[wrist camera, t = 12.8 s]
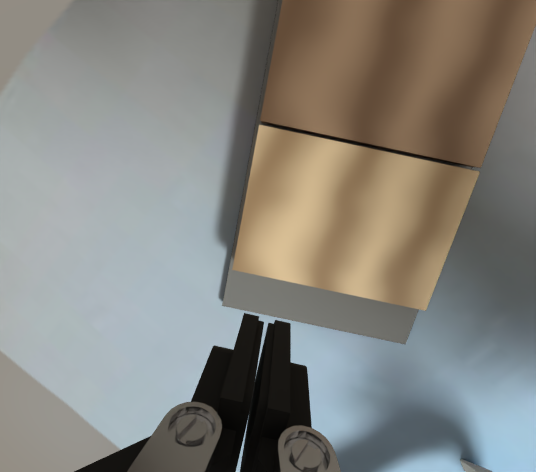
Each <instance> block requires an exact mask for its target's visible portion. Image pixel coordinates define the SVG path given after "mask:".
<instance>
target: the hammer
mask: <svg viewBox="0 0 536 472" xmlns="http://www.w3.org/2000/svg"><path fill="white" fill-rule="evenodd" d="M460 461H461V464H462V466H463V469H464V471H466V472H492V471H490V470H488V469H485V468H483V467H480V466H478V465H475V464H473V463H470V462H468V461H465V460H463V459H461V460H460Z"/></svg>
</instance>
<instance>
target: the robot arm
mask: <svg viewBox="0 0 536 472" xmlns="http://www.w3.org/2000/svg"><path fill="white" fill-rule="evenodd" d="M258 319H259V316H255V315H250V314H245V313H244V316H243V319H242V323H241V326H240V330H239V333H238V337H237V340H236V344H235V347H234V350H232V349H227V348H223V347H218V346H213V348H212V350H211V353H210V355H209V358H208V360H207V363H206V365H205V368H204V370H203V373H202V375H201V378H200V380H199V383H198V385H197V388H196V390H195V393H194V395H193V398H192V401H191V402H186V403H182V404H179V405H177V406H176V407H174V408H172V409H171V410H170V411H169V412H168V413H167V414H166V415H165V417H164V418H163V420H162V421H161V423H160V424H159V425H158V427H157V428H156V430H155V431H154V433H153V434H152V436H150V437H148V438H146V439H144V440H141V441H139V442H137V443H135V444H133V445H131V446H128V447H126V448H124V449H122V450H120V451H118V452H116V453H113V454H111V455H109V456H107V457H105V458H103V459H100V460H98V461H96V462H94V463H92V464H90V465H88V466H86V467H83V468H81V469H79V470H77V471H75V472H235V471H236V467H237V463H238V459H239V454H240V450H241V446H242V442H243V437H244V433H245V429H246V424H247V420H248V424H247V431H246V437H245V443H244V450H243V456H242V462H241V469H240V472H341V470H340V467H339V464H338V460H337V457H336V454H335V451H334V449H333V447H332V445H331V444H330V442H329V441H328V440H327V439H326V437H324V436H323V435H322V434H321V433H320V432H318V431H316V430H314V429H312V427H311V414H310V401H309V388H308V374H307V367H306V366H304V365H299V364H295V363H290V323H286V322H282V321H277V320H275V322H274V324H272V323H268V327H267V332H266V336H265V340H264V345H263V349H262V353H261V357H260V362H259V366H258V370H257V364H258V357H259V351H260V344H261V338H262V332H263V325H264V322H263V321H258ZM256 370H257V375H256ZM255 377H256V379H255ZM249 411H250V412H249ZM248 416H249V418H248Z"/></svg>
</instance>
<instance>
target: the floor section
mask: <svg viewBox="0 0 536 472" xmlns="http://www.w3.org/2000/svg"><path fill="white" fill-rule="evenodd" d="M535 25H536V0H278V4H277V9H276V15H275V20H274V26H273V31H272V37H271V42H270V47H269V53H268V58H267V64H266V69H265V75H264V80H263V86H262V91H261V97H260V102H259V108H258V113H257V118H256V124H255V129H254V135H253V140H252V146H251V151H250V157H249V162H248V168H247V173H246V179H245V184H244V189H243V195H242V200H241V206H240V211H239V217H238V222H237V228H236V233H235V239H234V244H233V249H232V255H231V260H230V266H229V271H228V277H227V282H226V288H225V293H224V299H223V304H222V306H226V307H231V308H236V309H240V310H245V311H250V312H255V313H259V314H264V315H269V316H273V317H278V318H283V319H288V320H292V321H297V322H302V323H307V324H311V325H316V326H321V327H326V328H330V329H335V330H340V331H344V332H349V333H354V334H359V335H363V336H368V337H373V338H378V339H382V340H387V341H392V342H396V343H401V344H406V342H407V339H408V336H409V334H410V331H411V328H412V326H413V323H414V320H415V318H416V315H417V312H418V310H419V309H415V308H410V307H406V306H401V305H396V304H391V303H387V302H382V301H377V300H373V299H368V298H363V297H358V296H354V295H349V294H344V293H340V292H335V291H330V290H325V289H321V288H316V287H311V286H306V285H302V284H297V283H292V282H288V281H283V280H278V279H273V278H269V277H264V276H259V275H255V274H250V273H245V272H240V271H236V270H232V268H233V263H234V258H235V252H236V247H237V242H238V236H239V231H240V225H241V220H242V215H243V209H244V204H245V198H246V193H247V188H248V182H249V177H250V171H251V166H252V161H253V155H254V150H255V145H256V139H257V134H258V128H259V125H263V126H268V127H273V128H278V129H282V130H287V131H292V132H296V133H301V134H306V135H310V136H315V137H320V138H324V139H329V140H334V141H338V142H343V143H348V144H352V145H357V146H362V147H366V148H371V149H376V150H380V151H385V152H390V153H395V154H399V155H404V156H409V157H413V158H418V159H423V160H427V161H432V162H437V163H441V164H446V165H451V166H455V167H460V168H465V169H469V170H471V169H472V167H479V168H481V166H482V163H483V161H484V158H485V155H486V153H487V150H488V148H489V145H490V142H491V140H492V137H493V135H494V132H495V129H496V127H497V124H498V122H499V119H500V116H501V114H502V111H503V109H504V106H505V103H506V101H507V98H508V96H509V93H510V90H511V88H512V85H513V83H514V80H515V77H516V75H517V72H518V70H519V67H520V64H521V62H522V59H523V57H524V54H525V51H526V49H527V46H528V44H529V41H530V38H531V36H532V33H533V31H534V28H535Z"/></svg>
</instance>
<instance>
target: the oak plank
mask: <svg viewBox="0 0 536 472" xmlns="http://www.w3.org/2000/svg"><path fill="white" fill-rule="evenodd" d="M479 173H480V172H479V171H474V170H469V169H465V168H460V167H455V166H451V165H446V164H441V163H437V162H432V161H427V160H423V159H418V158H413V157H409V156H404V155H399V154H395V153H390V152H385V151H380V150H376V149H371V148H366V147H362V146H357V145H352V144H348V143H343V142H338V141H334V140H329V139H324V138H320V137H315V136H310V135H306V134H301V133H296V132H292V131H287V130H282V129H278V128H273V127H268V126H263V125H259V128H258V134H257V139H256V145H255V150H254V155H253V161H252V166H251V171H250V177H249V182H248V188H247V193H246V198H245V204H244V209H243V215H242V220H241V225H240V231H239V236H238V242H237V247H236V252H235V258H234V263H233V268H232V270H236V271H240V272H245V273H250V274H255V275H259V276H264V277H269V278H273V279H278V280H283V281H288V282H292V283H297V284H302V285H306V286H311V287H316V288H321V289H325V290H330V291H335V292H340V293H344V294H349V295H354V296H358V297H363V298H368V299H373V300H377V301H382V302H387V303H391V304H396V305H401V306H406V307H410V308H415V309H420V310H424V311H426V309H427V306H428V304H429V301H430V299H431V296H432V293H433V291H434V288H435V286H436V283H437V281H438V278H439V276H440V273H441V270H442V268H443V265H444V263H445V260H446V258H447V255H448V252H449V250H450V247H451V245H452V242H453V240H454V237H455V235H456V232H457V229H458V227H459V224H460V222H461V219H462V217H463V214H464V212H465V209H466V206H467V204H468V201H469V199H470V196H471V194H472V191H473V188H474V186H475V183H476V181H477V178H478V176H479Z"/></svg>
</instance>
